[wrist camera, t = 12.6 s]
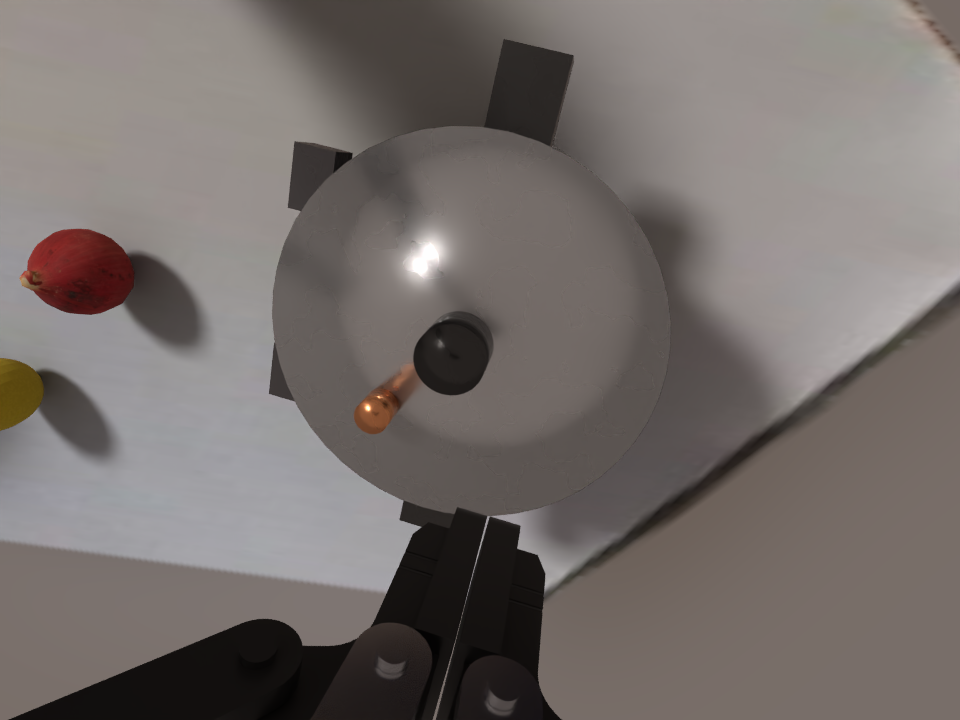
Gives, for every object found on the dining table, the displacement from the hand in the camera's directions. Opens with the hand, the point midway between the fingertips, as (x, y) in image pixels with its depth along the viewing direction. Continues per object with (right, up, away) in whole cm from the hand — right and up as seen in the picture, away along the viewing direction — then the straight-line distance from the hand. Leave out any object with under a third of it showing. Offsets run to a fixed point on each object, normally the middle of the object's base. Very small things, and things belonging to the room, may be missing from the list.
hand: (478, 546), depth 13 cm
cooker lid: (-1, +5, +14) cm, 15 cm away
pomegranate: (-27, +12, +29) cm, 41 cm away
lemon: (-37, +3, +34) cm, 51 cm away
